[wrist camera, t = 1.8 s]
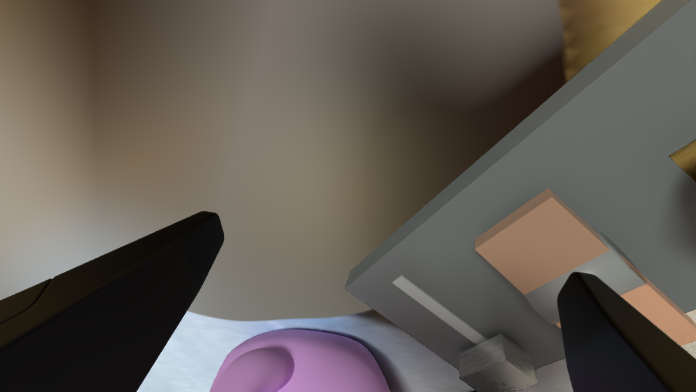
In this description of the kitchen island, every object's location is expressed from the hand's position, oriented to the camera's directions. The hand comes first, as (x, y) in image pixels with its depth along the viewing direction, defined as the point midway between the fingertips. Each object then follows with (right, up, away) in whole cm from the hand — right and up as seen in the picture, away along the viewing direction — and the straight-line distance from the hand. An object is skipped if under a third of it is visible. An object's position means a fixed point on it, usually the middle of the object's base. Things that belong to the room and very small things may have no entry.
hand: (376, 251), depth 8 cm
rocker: (+12, -3, +11) cm, 16 cm away
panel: (+13, -1, +12) cm, 18 cm away
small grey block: (+10, -11, +16) cm, 21 cm away
